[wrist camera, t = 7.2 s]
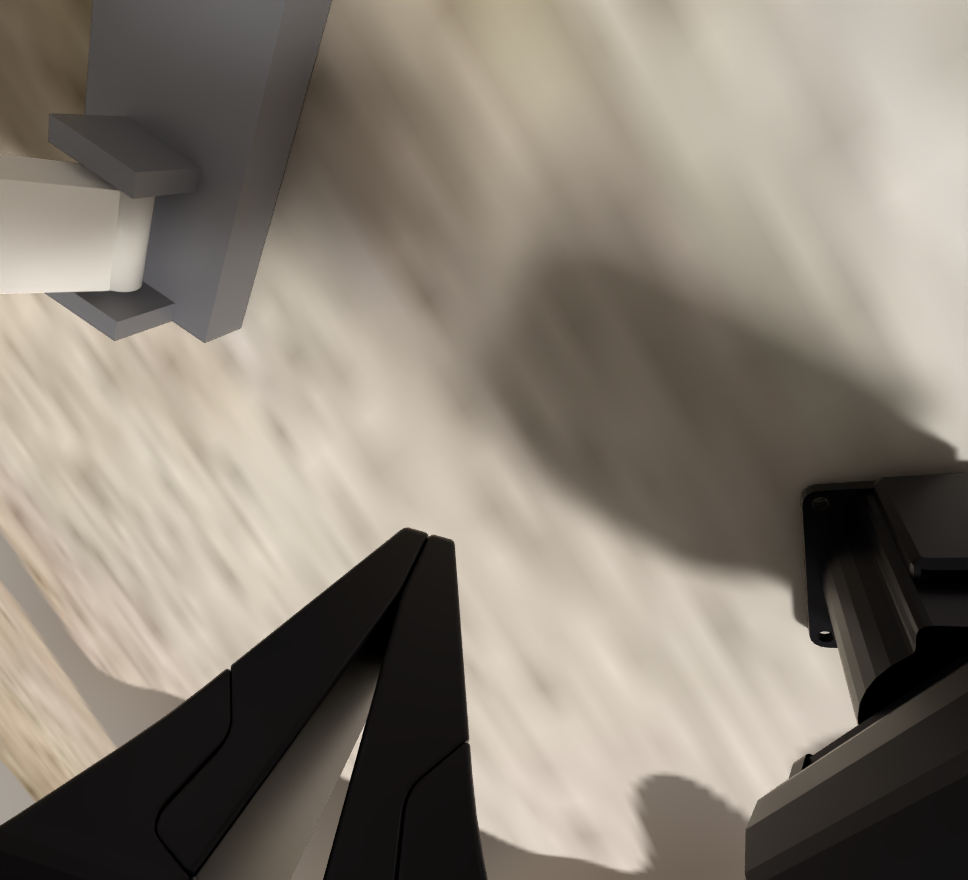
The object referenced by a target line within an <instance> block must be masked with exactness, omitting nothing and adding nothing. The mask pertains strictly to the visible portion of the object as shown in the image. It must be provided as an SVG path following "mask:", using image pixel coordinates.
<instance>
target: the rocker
mask: <svg viewBox="0 0 968 880" xmlns="http://www.w3.org/2000/svg"><path fill="white" fill-rule="evenodd" d="M154 201H155V196H153V197H145V198H136V199H132V198H131V197H129V196H128V195H126V194H125V193H123V192H122V191H120V190H119V189H117V188H116V187H114V186H113V185H112V184H110V183H109V182H107V181H106V180H104V179H103V178H101V177H100V176H98V175H97V174H95V173H94V172H92V171H91V170H89V169H88V168H86V167H85V166H84V165H82V164H80V163H72V162H64V161H56V160H48V159H40V158H32V157H24V156H17V155H9V154H1V153H0V294H16V293H51V292H86V291H109V290H112V291H117V292H132V291H136V290H138V289H139V288H141V286H142V281H143V274H144V267H145V261H146V254H147V247H148V241H149V234H150V227H151V221H152V214H153V207H154Z"/></svg>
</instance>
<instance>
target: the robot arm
mask: <svg viewBox="0 0 968 880" xmlns="http://www.w3.org/2000/svg"><path fill="white" fill-rule="evenodd" d="M819 497H821V498H825V499H827V500H826V501H825V502H824V503H822V504H813V503H812V501H813V500H814V499H815V498H819ZM800 500H801V517H802V534H803V551H804V568H805V585H806V602H807V619H808V630H809V635H810V638H811V641H812V642H813V643H814V644H816V645H818V646H821V647H827V648H838V650H839V654H840V658H841V662H842V666H843V670H844V674H845V678H846V681H847V685H848V689H849V693H850V697H851V701H852V705H853V709H854V712H855V716H856V720H857V724H858V726H856V727H855V728H853V729H852V730H850V731H849V732H847V733H846V734H844V735H843V736H841V737H840V738H838V739H837V740H835V741H834V742H832V743H831V744H829V745H828V746H826V747H825V748H823V749H822V750H820V751H819V752H817V753H816V754H814V755H811V754H806V755H805V756H803V757H802V758H800V759H799V760H797V761H796V762H794V764H793V766H792V769H791V773H790V776H789V779H788V780H787V781H785V782H783V783H782V784H780V785H779V786H777V787H776V788H775V789H773V790H772V791H770V792H769V793H768V794H766V795H765V796H764V797H762V798H761V799H759V800H758V801H757V804H756V806H755V809H754V811H753V813H752V816H751V818H750V821H749V823H748V826H747V828H746V844H745V847H746V848H745V877H746V879H744V880H968V473H951V474H934V475H916V476H898V477H883V478H881V479H879V480H878V481H866V482H847V483H829V484H816V485H811V486H809V487H807V488H805V489H804V491H803V492H802V493H801V498H800ZM823 631H827V632H830V633H828V634H822V633H820V632H823ZM365 722H366V724H365ZM364 724H365V727H364V731H363V735H362V739H361V742H360V746H359V750H358V753H357V757H356V761H355V764H354V768H353V772H352V775H351V779H350V783H349V787H348V790H347V794H346V797H345V801H344V805H343V808H342V812H341V816H340V819H339V823H338V827H337V830H336V834H335V838H334V841H333V846H332V849H331V852H330V856H329V860H328V864H327V868H326V871H325V874H324V878H323V880H488V879H487V873H486V868H485V863H484V857H483V851H482V846H481V839H480V833H479V827H478V821H477V815H476V805H475V796H474V786H473V777H472V766H471V752H470V745H469V743H468V741H469V729H468V715H467V702H466V689H465V675H464V662H463V649H462V635H461V622H460V609H459V596H458V582H457V569H456V556H455V544H454V541H453V540H451V539H447V538H444V537H440V536H437V535H431V536H428V534H427V533H425V532H422V531H419V530H415V529H411V528H403V529H402V530H400V531H399V532H398V533H396V534H395V535H394V536H393V537H391V538H390V539H389V540H388V541H386V542H385V543H384V544H383V545H381V546H380V547H379V548H378V549H376V550H375V551H374V552H373V553H371V554H370V555H369V556H368V557H366V558H365V559H364V560H363V561H361V562H360V563H359V564H358V565H356V566H355V567H354V568H353V569H351V570H350V571H349V572H347V573H346V574H345V575H344V576H342V577H341V578H340V579H339V580H337V581H336V582H335V583H334V584H332V585H331V586H330V587H329V588H327V589H326V590H325V591H324V592H322V593H321V594H320V595H319V596H317V597H316V598H315V599H314V600H312V601H311V602H310V603H309V604H307V605H306V606H305V607H304V608H302V609H301V610H300V611H299V612H297V613H296V614H295V615H294V616H292V617H291V618H290V619H289V620H287V621H286V622H285V623H284V624H282V625H281V626H280V627H279V628H277V629H276V630H275V631H274V632H272V633H271V634H270V635H268V636H267V637H266V638H265V639H263V640H262V641H261V642H260V643H258V644H257V645H256V646H255V647H253V648H252V649H251V650H250V651H248V652H247V653H246V654H245V655H243V656H242V657H241V658H240V659H238V660H237V661H236V662H235V663H233V664H232V665H231V671H230V670H229V669H226V670H224V671H223V672H222V673H220V674H219V675H218V676H217V677H215V678H214V679H213V680H212V681H211V682H209V683H208V684H207V685H206V686H204V687H203V688H202V689H200V690H199V691H198V692H196V693H195V694H194V695H193V696H191V697H190V698H189V699H187V700H186V701H185V702H183V703H182V704H181V705H179V706H178V707H177V708H175V709H174V710H173V711H171V712H170V713H169V714H167V715H166V716H165V717H163V718H162V719H161V720H159V721H157V722H156V723H155V724H153V725H152V726H150V727H149V728H147V729H146V730H144V731H143V732H141V733H140V734H138V735H137V736H136V737H134V738H133V739H131V740H130V741H128V742H127V743H125V744H124V745H122V746H121V747H119V748H118V749H116V750H115V751H113V752H112V753H110V754H109V755H107V756H106V757H104V758H103V759H101V760H100V761H98V762H97V763H95V764H94V765H92V766H90V767H89V768H87V769H86V770H84V771H83V772H81V773H80V774H78V775H77V776H75V777H74V778H72V779H71V780H69V781H68V782H66V783H65V784H63V785H62V786H60V787H59V788H57V789H56V790H54V791H53V792H51V793H49V794H48V795H46V796H45V797H43V798H42V799H40V800H39V801H37V802H36V803H34V804H33V805H31V806H30V807H29V808H27V809H25V810H24V811H22V812H21V813H19V814H18V815H16V816H15V817H13V818H11V819H10V820H8V821H7V822H5V823H4V824H2V825H0V880H290V879H291V877H292V875H293V873H294V871H295V869H296V867H297V864H298V863H299V861H300V858H301V856H302V854H303V852H304V850H305V848H306V846H307V844H308V842H309V840H310V837H311V835H312V833H313V831H314V829H315V827H316V825H317V823H318V820H319V819H320V816H321V814H322V812H323V810H324V808H325V806H326V804H327V802H328V800H329V797H330V796H331V793H332V791H333V789H334V787H335V785H336V783H337V781H338V779H339V777H340V775H341V773H342V770H343V768H344V766H345V764H346V762H347V760H348V758H349V756H350V754H351V752H352V749H353V747H354V745H355V743H356V741H357V739H358V737H359V735H360V733H361V731H362V728H363V726H364Z"/></svg>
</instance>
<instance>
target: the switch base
mask: <svg viewBox="0 0 968 880" xmlns="http://www.w3.org/2000/svg"><path fill="white" fill-rule="evenodd" d="M331 1H332V0H93V4H92V18H91V33H90V47H89V61H88V75H87V89H86V104H85V115H74V114H49V139H48V142H50V143H51V144H53V145H54V146H56V147H57V148H59V149H60V150H61V151H63V152H64V153H66V154H67V155H69V156H70V157H72V158H73V159H75V160H76V161H78V162H79V163H81V164H82V165H84V166H85V167H86V168H88V169H89V170H91V171H92V172H94V173H95V174H97V175H98V176H100V177H101V178H103V179H104V180H106V181H107V182H109V183H110V184H112V185H113V186H114V187H116V188H117V189H119V190H120V191H122V192H123V193H125V194H126V195H128V196H129V197H131V198H132V199H136V198H145V197H153V196H155V201H154V207H153V214H152V221H151V227H150V234H149V241H148V247H147V254H146V261H145V267H144V274H143V281H142V286H141V288H139V289H138V290H136V291H132V292H117V291H112V290H109V291H86V292H51V293H45V294H47V295H48V296H50V297H51V298H52V299H54V300H55V301H57V302H58V303H60V304H61V305H63V306H64V307H66V308H67V309H69V310H70V311H71V312H73V313H74V314H76V315H77V316H79V317H80V318H82V319H83V320H85V321H86V322H87V323H89V324H90V325H92V326H93V327H95V328H96V329H98V330H99V331H101V332H102V333H104V334H105V335H106V336H108V337H109V338H111V339H112V340H114V341H116V340H119V339H122V338H125V337H128V336H131V335H133V334H136V333H139V332H142V331H145V330H148V329H151V328H153V327H156V326H159V325H162V324H165V323H168V322H171V321H173V322H174V323H176V324H177V325H179V326H180V327H182V328H183V329H185V330H186V331H187V332H189V333H190V334H192V335H193V336H195V337H196V338H198V339H199V340H201V341H202V342H204V343H206V342H209V341H211V340H214V339H216V338H218V337H221V336H223V335H226V334H228V333H230V332H233V331H235V330H237V329H240V328H241V326H242V322H243V319H244V315H245V311H246V308H247V304H248V301H249V297H250V293H251V290H252V286H253V282H254V279H255V275H256V272H257V268H258V264H259V261H260V257H261V254H262V250H263V246H264V243H265V239H266V236H267V232H268V228H269V225H270V221H271V218H272V214H273V210H274V207H275V203H276V200H277V196H278V192H279V189H280V185H281V182H282V178H283V174H284V171H285V167H286V164H287V160H288V156H289V153H290V149H291V145H292V142H293V138H294V135H295V131H296V127H297V124H298V120H299V117H300V113H301V109H302V106H303V102H304V99H305V95H306V91H307V88H308V84H309V81H310V77H311V73H312V70H313V66H314V63H315V59H316V55H317V52H318V48H319V45H320V41H321V37H322V34H323V30H324V27H325V23H326V19H327V16H328V12H329V8H330V5H331Z"/></svg>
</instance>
